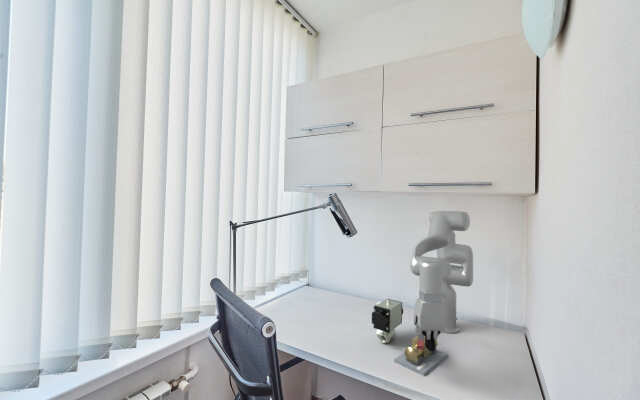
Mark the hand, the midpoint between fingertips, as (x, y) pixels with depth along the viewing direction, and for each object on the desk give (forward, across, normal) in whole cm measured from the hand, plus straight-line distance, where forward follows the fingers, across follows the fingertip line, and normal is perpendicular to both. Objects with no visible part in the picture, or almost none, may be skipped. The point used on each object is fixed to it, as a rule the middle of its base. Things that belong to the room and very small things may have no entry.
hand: (429, 349), depth 97 cm
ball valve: (+10, +6, -28) cm, 30 cm away
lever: (-1, 0, -6) cm, 6 cm away
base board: (+10, -3, -12) cm, 15 cm away
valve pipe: (+10, -3, -12) cm, 15 cm away
